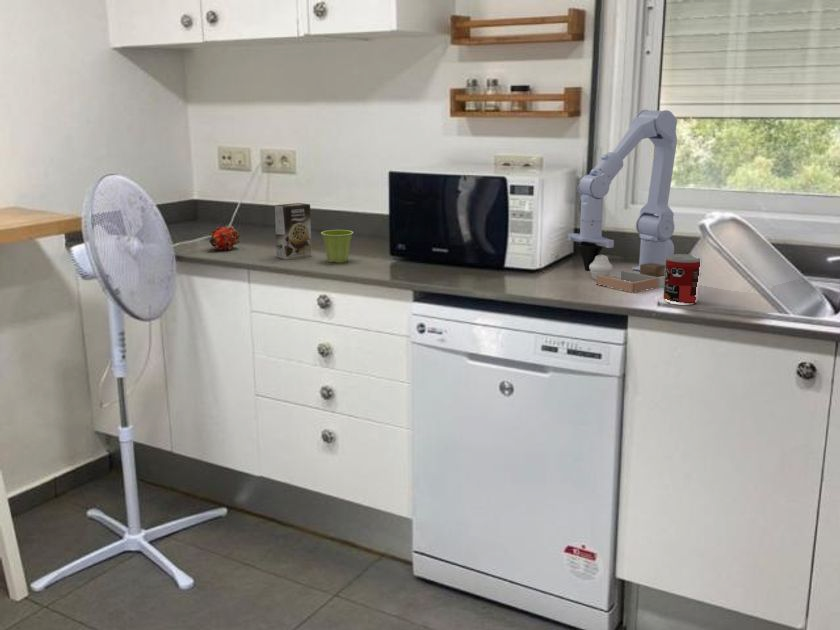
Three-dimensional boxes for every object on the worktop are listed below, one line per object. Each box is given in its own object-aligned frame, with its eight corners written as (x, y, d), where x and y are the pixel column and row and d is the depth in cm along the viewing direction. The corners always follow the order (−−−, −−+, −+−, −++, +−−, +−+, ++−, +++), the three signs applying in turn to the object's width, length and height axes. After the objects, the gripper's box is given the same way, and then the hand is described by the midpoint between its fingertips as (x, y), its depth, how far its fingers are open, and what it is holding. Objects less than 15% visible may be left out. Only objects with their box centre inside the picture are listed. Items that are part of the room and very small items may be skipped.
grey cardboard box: (286, 260, 255) (284, 206, 251) (276, 257, 260) (273, 204, 256) (312, 256, 261) (310, 204, 257) (301, 253, 266) (299, 202, 262)
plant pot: (358, 262, 252) (358, 233, 250) (329, 265, 248) (328, 235, 245) (346, 257, 260) (345, 228, 258) (317, 259, 256) (316, 231, 253)
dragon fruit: (241, 251, 278) (215, 263, 268) (223, 235, 279) (197, 246, 270) (249, 232, 273) (224, 243, 263) (231, 216, 274) (205, 226, 265)
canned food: (658, 298, 207) (661, 254, 204) (690, 297, 207) (694, 253, 205) (669, 306, 199) (673, 260, 197) (702, 305, 200) (706, 259, 197)
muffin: (607, 283, 223) (608, 257, 221) (585, 280, 226) (586, 255, 224) (615, 279, 228) (616, 253, 226) (593, 276, 231) (594, 251, 229)
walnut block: (650, 279, 229) (651, 262, 228) (663, 281, 225) (665, 265, 224) (639, 281, 226) (640, 264, 225) (653, 284, 223) (654, 267, 222)
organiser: (646, 274, 234) (646, 265, 233) (682, 282, 224) (683, 273, 224) (596, 284, 222) (596, 275, 221) (632, 293, 212) (633, 283, 212)
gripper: (561, 218, 230) (559, 267, 233) (602, 225, 219) (599, 276, 222) (579, 216, 234) (576, 264, 237) (620, 222, 223) (617, 273, 226)
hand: (588, 270), depth 230 cm, fingers closed
